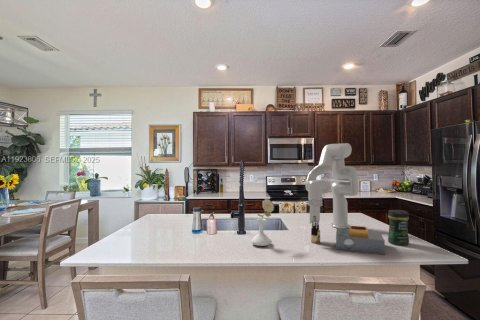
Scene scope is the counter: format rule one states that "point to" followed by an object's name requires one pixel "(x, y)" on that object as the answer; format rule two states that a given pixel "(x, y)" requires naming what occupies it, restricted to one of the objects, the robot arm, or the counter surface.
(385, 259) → the counter surface
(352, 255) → the counter surface
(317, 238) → the brass can
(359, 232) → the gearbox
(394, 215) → the coffee jar
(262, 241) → the flower in vase
